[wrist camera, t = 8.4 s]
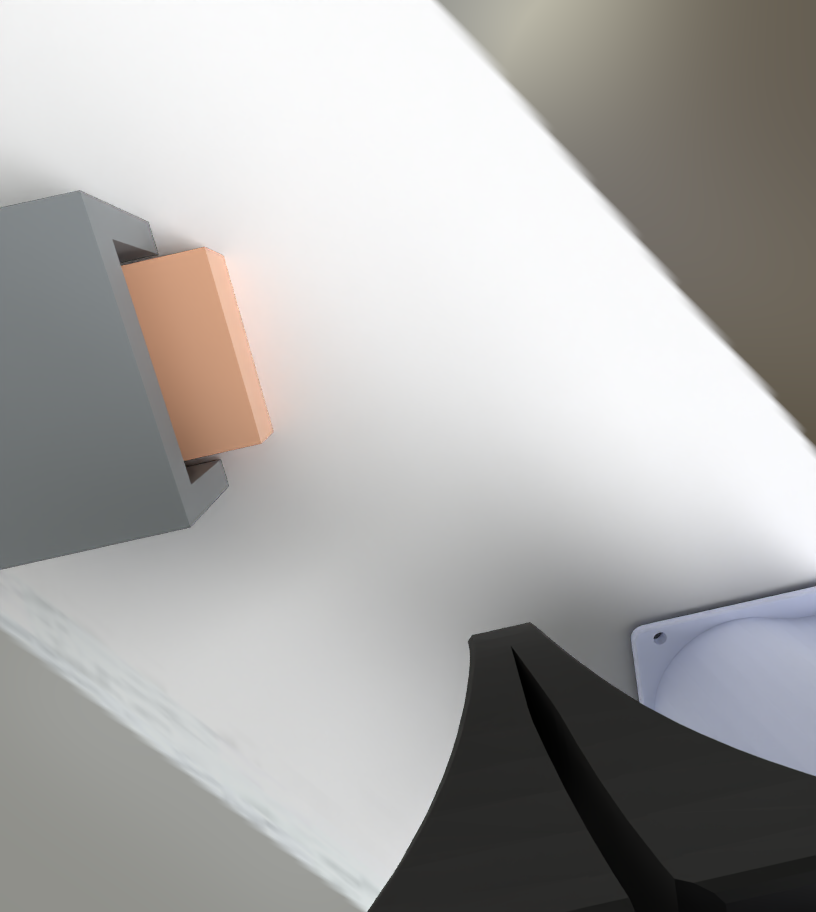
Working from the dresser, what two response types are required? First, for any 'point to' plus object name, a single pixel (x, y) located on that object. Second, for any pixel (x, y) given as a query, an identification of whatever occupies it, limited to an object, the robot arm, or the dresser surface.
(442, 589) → the dresser surface
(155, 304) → the slab
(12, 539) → the block
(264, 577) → the dresser surface
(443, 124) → the dresser surface
